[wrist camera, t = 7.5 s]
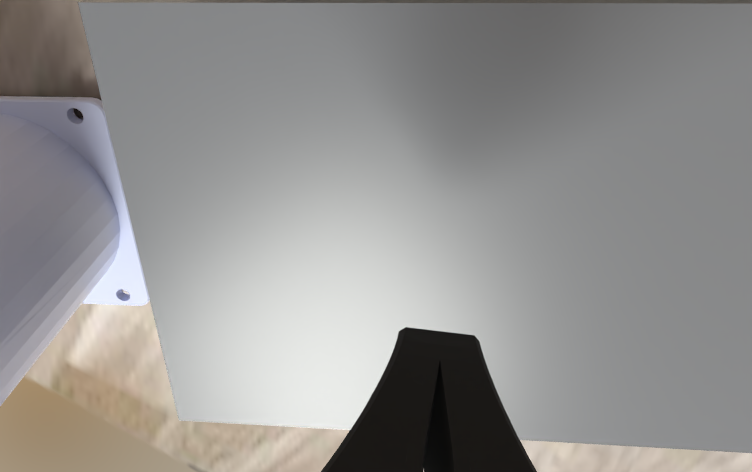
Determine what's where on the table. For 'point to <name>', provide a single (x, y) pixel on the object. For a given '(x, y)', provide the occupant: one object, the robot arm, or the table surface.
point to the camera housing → (443, 203)
